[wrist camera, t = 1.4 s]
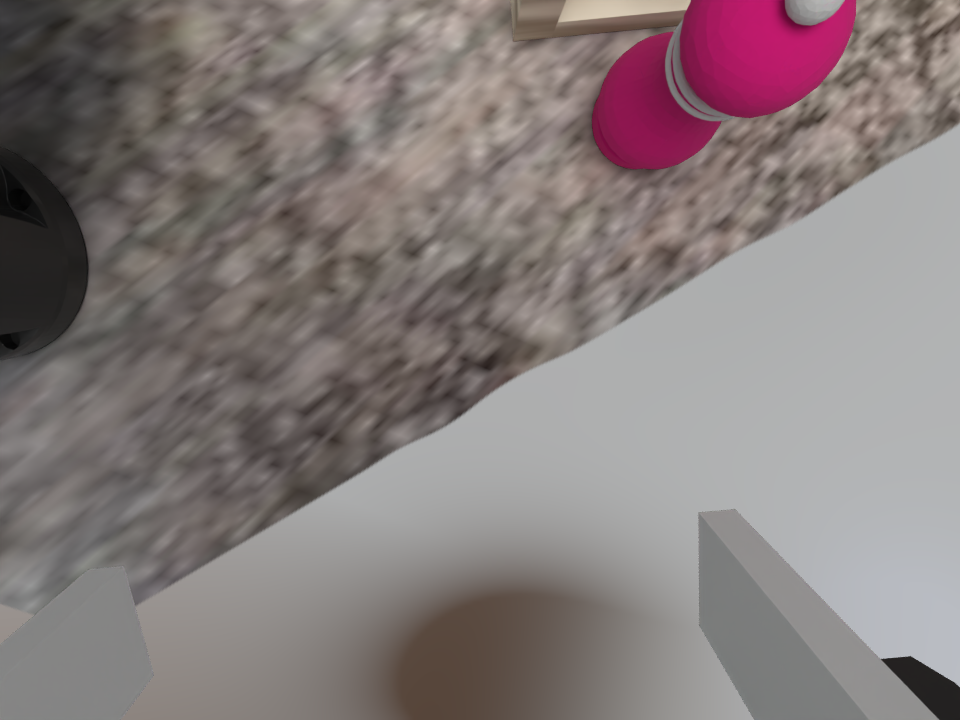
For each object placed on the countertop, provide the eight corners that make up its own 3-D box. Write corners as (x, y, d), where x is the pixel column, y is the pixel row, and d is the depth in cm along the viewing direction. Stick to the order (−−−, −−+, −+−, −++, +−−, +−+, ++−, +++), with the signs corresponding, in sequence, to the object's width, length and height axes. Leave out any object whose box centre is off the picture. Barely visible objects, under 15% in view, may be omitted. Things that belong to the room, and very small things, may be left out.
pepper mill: (629, 37, 35) (830, -219, 15) (713, 106, 36) (1001, -51, 16) (562, 134, 36) (669, 11, 17) (645, 198, 37) (837, 153, 18)
